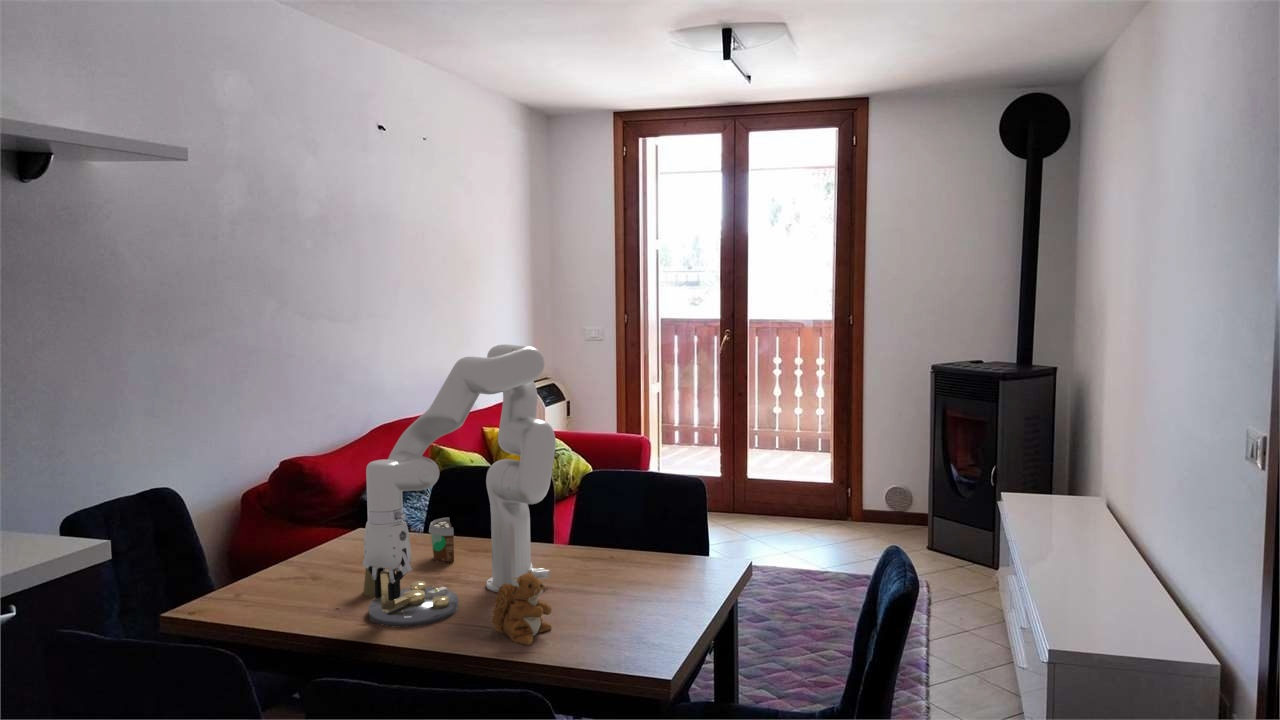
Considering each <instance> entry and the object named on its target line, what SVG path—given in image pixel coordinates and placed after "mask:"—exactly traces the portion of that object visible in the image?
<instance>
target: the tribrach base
mask: <svg viewBox="0 0 1280 720" xmlns="http://www.w3.org/2000/svg"><path fill="white" fill-rule="evenodd" d="M410 590H423V591H424V592H425V602H423V603H421V604H418V605H403V606H401V607H399V608H397V609H394V610H392V611H390V612H385V611H382V608H381V597H380V598H376V597H374V599H372V601H370V602H369V604H368V617H369V619H370V621H372V622H373V621H374V622H373V623H375V622H376V623H375V624H377V623H378V624H377V625H380V624H383V625H382V626H385V625H388V626H387V627H392V626H400V627H399V628H409V627H410V626H411V627H419V625H420V626H426V625H429V624H434V623H437V622H441V621H442V620H446V619H448V618H450V617H451V616H453V615H454V614H455V613H457V611H458V609H459V596H458V595H457V594H456V592H454V591H452V590H449V589H448V587H445V586H440V587H430V586H429V587H428V586H427V584H426V581H424V580H417V581H412V582H410V586H409V588H402V589H400V597H399V598H401V597H403V596H402V594H403V593H404V592H406V591H410ZM399 598H397V599H399ZM395 600H396V599H395ZM406 626H407V627H406Z"/></svg>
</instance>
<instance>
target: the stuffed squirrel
mask: <svg viewBox="0 0 1280 720" xmlns="http://www.w3.org/2000/svg"><path fill="white" fill-rule="evenodd" d="M513 581H514V583H515V585H516V586H513V585H512V584H505V583H504V584H503V585H502V586H501V587H500V588H499V590H498V592H496V593H497V594H496V596H495V599H496V601H495V604H494V608H493V610H492V614H493V615H492V619H491V620H490V623H491V624H492V625H493V628H494V630H495V631H496V632H497V633H499V634H506V635H507V636H508V637H509V638H510V640H511V641H513V642H514V643H517V644H519V645H520V644H521V645H525V646H530V645H533V643H534V636H536V635H537V634H538V633H540V634H541V633H543V632H548V631H549V632H550V631H551V630H552V623H550V622H547V621H545V622H543V617H542V616H543V615H546V616H548V615H550V614H551V613H552V606H551V605H550V604H549V603H547V602H544V601H542V600H540V599H539V598H538V597H540V596H541V595H542V593H543V592H546V590H547V587H546V586H545V584H544V583H543V582H542V580H540V578H536V577H535V576H534V575H533V574H532V572H528V573H526V574H523V575H521V576H520V577H518V578H514V579H513Z"/></svg>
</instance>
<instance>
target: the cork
mask: <svg viewBox="0 0 1280 720" xmlns="http://www.w3.org/2000/svg"><path fill="white" fill-rule="evenodd" d="M363 584H364V585H363V596H365V597H370V598H371V597H374V598H375V580H373V579H372V574H371V573H370V572H369V570H368V569H367V568H366V567H365V575H364V583H363Z"/></svg>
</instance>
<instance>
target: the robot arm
mask: <svg viewBox="0 0 1280 720" xmlns="http://www.w3.org/2000/svg"><path fill="white" fill-rule="evenodd" d="M544 367H545V359H544V355H543V353H541V351H540V350H539V349H538V348H536V347H533V346H530V345H516V344H498V345H494V346H493V347H491V348H490V349H489V351H488V352H487V355H486V357H481V356H465V357H462V358H460V359H458V360H457V361H456V363H455V364H454V365H453V367H452V368H451V370H450V371H449V373H448V376H447V377H446V379H445V381H444V382H443V384H442V386H441V388H440V389H439V391H438V393H437V395H436V396H435V398H434V400H433V402H432V403H431V405H430V406H429V408H428V409H427V410H426V411H425V412H424V413H422V414H421V415H420V416H419V417H418V418H417V419H416V420H414V421H413V422H412V423H411V424H410V425H409V426H408V427H407V428H406V429H405V430H404V431H403V432H402V433H401V435H400V437H399V438H398V440H397V442H396V443H395V445H394V447H393V449H392V450H391V451H390V454H389V456H388V458H387V459H384V458H383V459H377V460H373V461H370V462H369V463H368V464H367V465H366V469H365V471H366V472H365V475H366V479H365V480H366V501H367V502H366V507H367V510H366V511H367V521H366V522H365V523H366V524H365V530H364V537H363V560H362V566H363V567H364V568H365V569H366V568H367V569H368V570H369V572H370V573H371V574H372V579H373V580H375V596H374V598H380V597H381V585H380V572H381V571H384V570H389V576H390V583H388V599H389V600H390V601H392V600H394V599H397V598H399V597H400V590H401V581H402V580H403V578H404V576H406V575H407V574H409V573H411V572H413V568H412V566H411V563H412V548H411V540H410V533H409V527H408V524H407V522H406V521H404V520H405V519H406V517H407V515H406V513H404V508H403V507H404V506H403V505H404V504H403V501H404V499H403V492H407V491H409V492H410V491H411V492H413V491H414V492H415V491H424V490H428V489H430V488H432V487H433V486H435V485H436V483H437V482H438V480H439V478H440V469H439V465H438V464H437V463H436V462H435V461H434V460H433V459H431V458H429V457H426V456H423V455H424V453H425V452H426V450H427V449H428V448H429V447H430V446H431V445H432V443H434V442H435V441H437V440H438V439H439V438H440V439H441V437H443V436H446V435H448V434H450V433H453V432H455V431H456V430H458V429H460V428H461V427H462V426H463V425H464V423H465V421H466V419H467V417H468V415H469V414H470V412H471V410H472V409H473V407H474V405H475V403H476V402H477V400H478V397H479V396H480V395H481V394H482V395H490V396H491V395H496V394H500V393H502V407H501V414H500V421H499V426H498V427H499V428H498V436H497V443H498V446H499V447H500V449H501V450H502V451H504V452H505V453H507V454H510V455H514V456H519V457H520V459H519V460H515V459H513V458H512V459H511V458H503V459H499V460H497V461H495V462H494V463H492V464H491V465H490V467H489V468H488V469H487V472H486V477H485V478H486V479H485V484H486V490H487V495H488V500H489V504H490V505H489V507H490V523H491V524H490V531H491V568H492V569H491V570H492V573H491V574H492V576H491V577H490V578H488V579H487V580H486V584H485V585H486V588H487V589H488V590H489V591H490V592H493V593H494V592H495V593H498V590H499V588H500V587H501V586H502V585H503V584H504V583H505V584H512V585H513V586H516V585H515V583H514V581H513V579H514V578H518V577H520V576H521V575H523V574H526V573H528V572H532V574H533V575H534V576H535V577H536V578H538V579H541V578H542V579H548V578H549V579H550V569H545V567H541V568H540V567H539V568H535V567H533V562H532V556H531V553H532V552H531V516H530V515H531V514H530V508H529V505H534V504H535V505H536V504H538V503H540V502H542V501H543V500H544V498H545V497H546V496H547V494H548V491H549V489H550V486H551V480H552V473H553V468H554V467H553V466H554V460H555V455H556V454H555V453H556V447H557V446H556V434H555V431H554V429H553V428H552V426H551V425H550V423H548V422H546V421H545V420H542V419H540V418H539V419H538V418H537V411H538V409H537V408H538V398H539V397H538V390H537V387H536V383H535V381H536V380H537V379H538V378H540V376H541V375H542V373H543V372H544Z"/></svg>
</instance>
